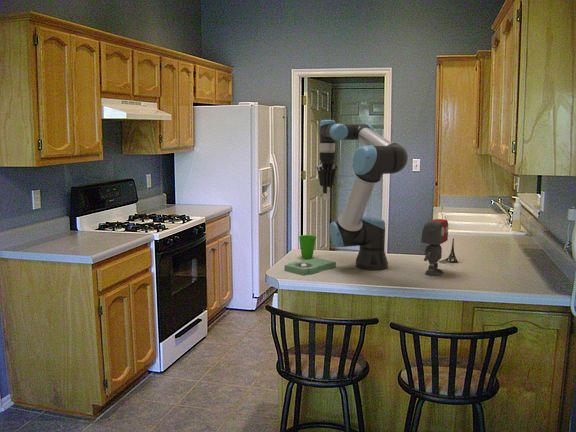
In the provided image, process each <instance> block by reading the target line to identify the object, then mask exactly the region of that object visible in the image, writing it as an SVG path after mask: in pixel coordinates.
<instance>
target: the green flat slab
mask: <svg viewBox="0 0 576 432" xmlns="http://www.w3.org/2000/svg"><path fill="white" fill-rule="evenodd" d="M303 263H304V264H306V265H307V266H301V264H303ZM336 267H337V261H333V260H330V259H325V258H319V257H315V258H313V257H312V259H304V260H301V261H293V262H289V263H287V264H285V265H284V271H285V272H290V273H293V274H297V275H301V276H306V275H313V274H316V273H320V272H321V271H322V272H323V271H326V270H329V269H333V268H336Z"/></svg>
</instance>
